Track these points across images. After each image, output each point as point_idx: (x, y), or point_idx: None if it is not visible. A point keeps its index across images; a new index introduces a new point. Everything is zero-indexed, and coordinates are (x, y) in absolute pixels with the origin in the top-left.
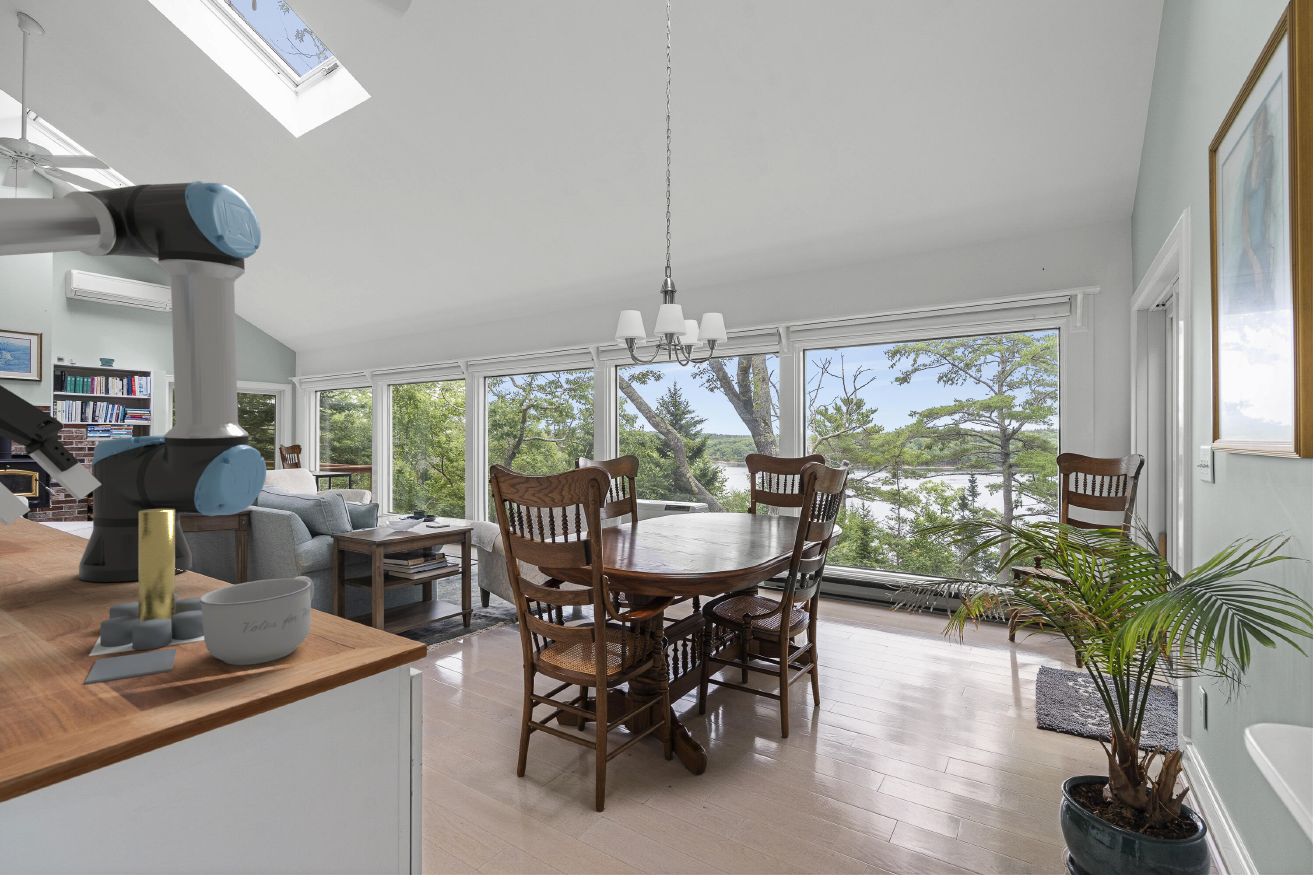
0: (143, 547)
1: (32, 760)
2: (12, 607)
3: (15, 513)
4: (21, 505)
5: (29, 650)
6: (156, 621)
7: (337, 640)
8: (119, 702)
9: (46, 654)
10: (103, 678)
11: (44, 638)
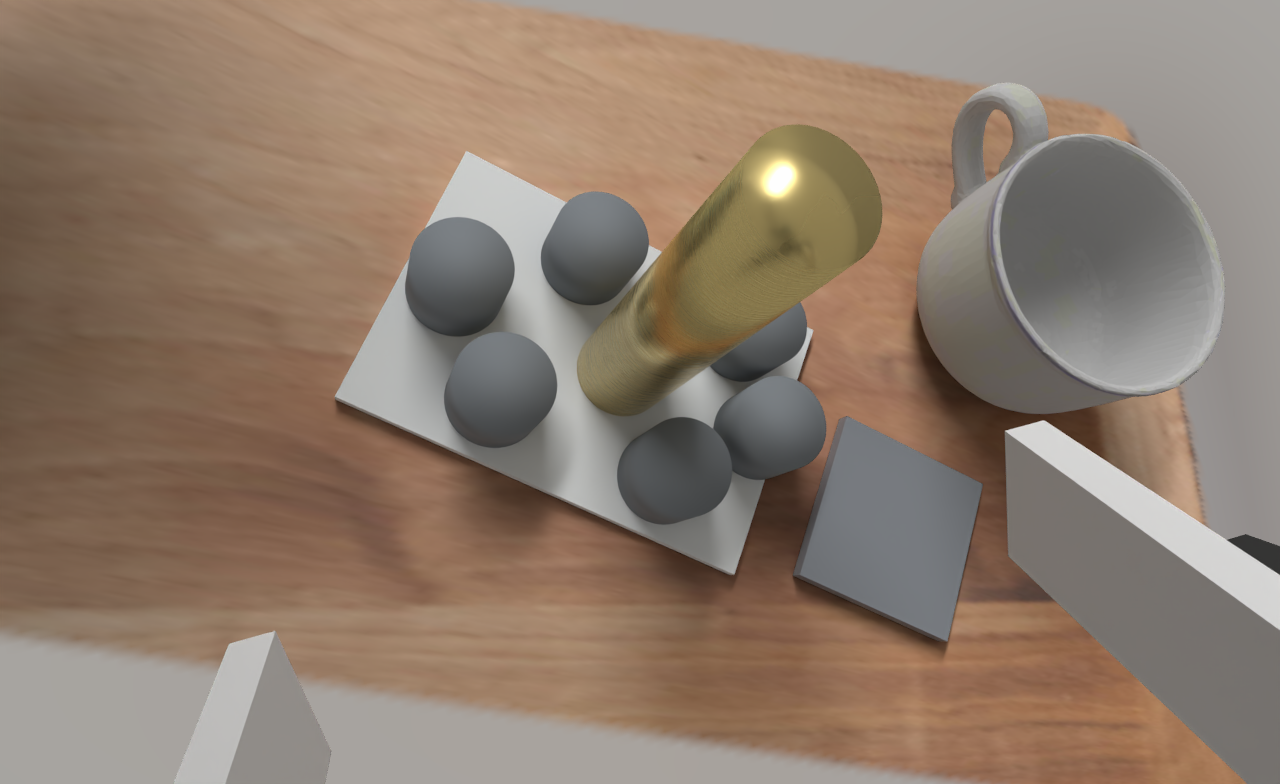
0: (763, 325)
1: None
2: None
3: (296, 721)
4: (268, 686)
5: (505, 666)
6: (770, 406)
7: (991, 165)
8: (1063, 616)
9: (591, 640)
10: (953, 607)
11: (391, 603)
